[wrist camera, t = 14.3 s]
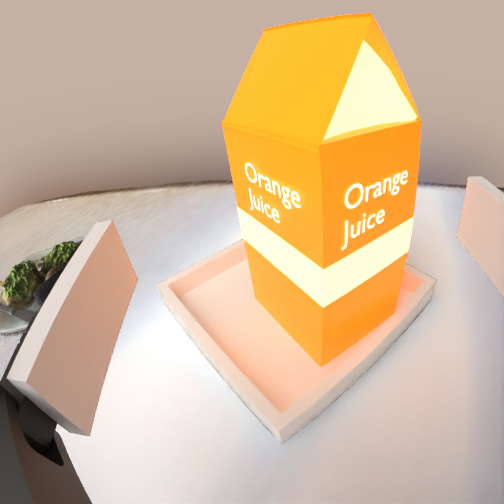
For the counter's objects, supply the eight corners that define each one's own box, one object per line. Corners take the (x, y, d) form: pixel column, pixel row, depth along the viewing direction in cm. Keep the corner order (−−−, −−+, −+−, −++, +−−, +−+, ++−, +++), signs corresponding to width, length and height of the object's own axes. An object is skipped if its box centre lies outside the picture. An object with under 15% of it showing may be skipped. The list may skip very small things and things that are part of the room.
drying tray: (298, 229, 34) (297, 210, 33) (430, 301, 23) (436, 279, 21) (164, 304, 28) (156, 284, 26) (281, 443, 16) (278, 430, 15)
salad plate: (-29, 355, 24) (-51, 329, 21) (11, 270, 38) (-3, 247, 36) (88, 333, 26) (65, 298, 23) (109, 238, 40) (98, 210, 38)
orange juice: (319, 369, 19) (301, 4, 8) (253, 298, 26) (203, 36, 14) (396, 312, 22) (419, 23, 10) (325, 259, 29) (309, 28, 17)
